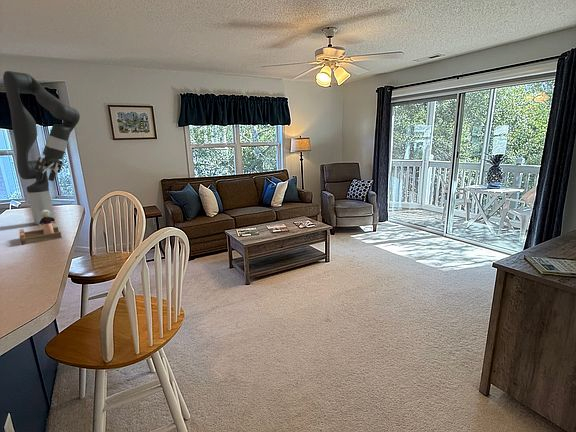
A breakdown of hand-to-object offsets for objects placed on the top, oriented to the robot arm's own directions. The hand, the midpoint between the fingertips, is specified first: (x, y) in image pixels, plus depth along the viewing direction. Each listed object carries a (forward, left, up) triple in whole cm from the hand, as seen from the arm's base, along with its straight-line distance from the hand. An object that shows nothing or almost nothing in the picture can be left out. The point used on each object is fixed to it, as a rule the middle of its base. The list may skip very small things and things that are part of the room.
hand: (44, 180), depth 144 cm
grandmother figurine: (+7, -2, -25) cm, 26 cm away
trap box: (+7, -6, -25) cm, 27 cm away
